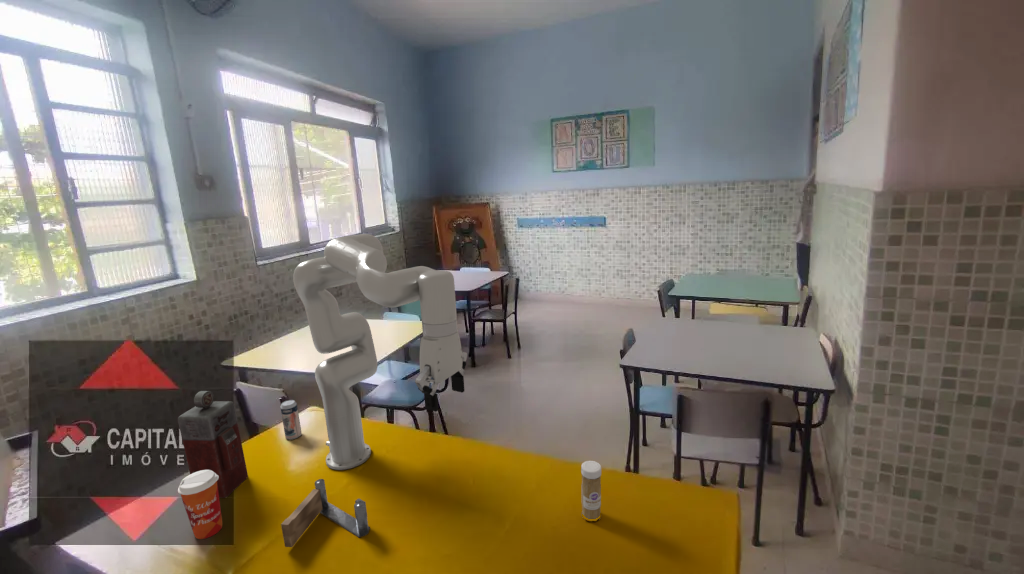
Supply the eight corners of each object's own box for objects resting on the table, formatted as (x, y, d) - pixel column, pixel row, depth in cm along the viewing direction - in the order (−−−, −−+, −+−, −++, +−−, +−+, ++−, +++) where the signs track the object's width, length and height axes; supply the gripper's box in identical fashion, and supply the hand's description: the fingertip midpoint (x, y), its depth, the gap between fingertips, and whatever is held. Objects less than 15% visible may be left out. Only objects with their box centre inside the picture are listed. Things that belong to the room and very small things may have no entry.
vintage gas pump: (234, 498, 117) (213, 400, 111) (194, 496, 118) (172, 399, 112) (256, 476, 126) (238, 384, 120) (219, 475, 127) (199, 384, 121)
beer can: (282, 440, 144) (276, 406, 141) (291, 432, 148) (286, 398, 146) (295, 441, 143) (290, 406, 140) (304, 432, 148) (299, 399, 145)
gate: (316, 508, 111) (313, 488, 109) (322, 509, 110) (319, 488, 109) (285, 546, 99) (281, 524, 98) (292, 547, 99) (288, 524, 97)
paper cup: (186, 547, 101) (173, 493, 98) (191, 526, 108) (179, 474, 105) (226, 534, 105) (215, 482, 102) (229, 514, 111) (219, 464, 108)
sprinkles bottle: (588, 525, 103) (588, 474, 100) (577, 513, 107) (577, 463, 104) (605, 519, 105) (605, 468, 102) (593, 506, 109) (593, 457, 106)
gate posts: (315, 510, 111) (311, 483, 110) (328, 501, 114) (324, 475, 113) (361, 538, 102) (357, 510, 100) (373, 529, 104) (370, 501, 103)
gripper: (449, 315, 106) (454, 382, 110) (399, 338, 91) (406, 414, 95) (476, 318, 103) (480, 387, 106) (428, 342, 88) (434, 421, 92)
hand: (445, 400), depth 101 cm, fingers open, 9 cm apart
